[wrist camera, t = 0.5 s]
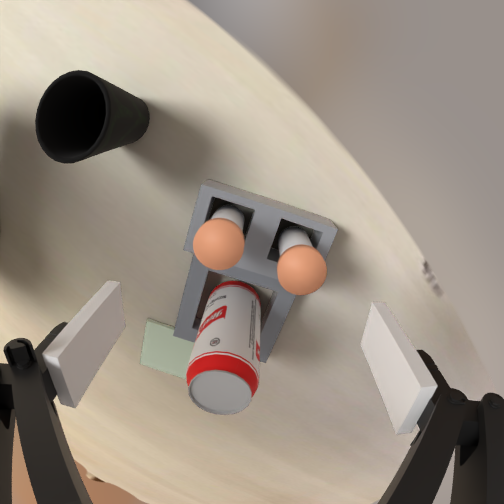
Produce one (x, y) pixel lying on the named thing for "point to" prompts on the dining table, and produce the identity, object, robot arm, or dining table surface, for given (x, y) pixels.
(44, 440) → the robot arm
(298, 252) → the ball
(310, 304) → the dining table surface
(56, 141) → the cup
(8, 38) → the dining table surface
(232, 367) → the beer can
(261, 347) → the grey rack with holes
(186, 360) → the coaster
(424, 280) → the dining table surface
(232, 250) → the plunger inner
